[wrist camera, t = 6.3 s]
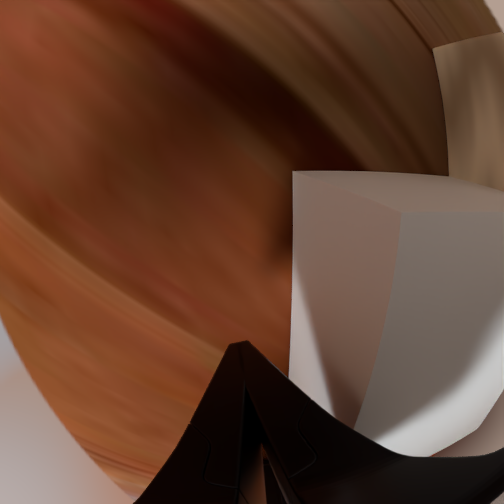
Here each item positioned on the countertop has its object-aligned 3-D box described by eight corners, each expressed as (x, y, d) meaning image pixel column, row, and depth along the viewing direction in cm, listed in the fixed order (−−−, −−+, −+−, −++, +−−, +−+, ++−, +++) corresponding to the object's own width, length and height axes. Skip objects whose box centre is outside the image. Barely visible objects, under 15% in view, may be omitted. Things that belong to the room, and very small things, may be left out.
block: (415, 351, 13) (477, 428, 8) (288, 380, 12) (325, 494, 7) (449, 176, 10) (565, 213, 4) (292, 170, 9) (401, 212, 4)
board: (453, 369, 15) (486, 407, 11) (418, 386, 14) (450, 430, 11) (474, 60, 8) (537, 53, 4) (432, 48, 8) (501, 31, 4)
